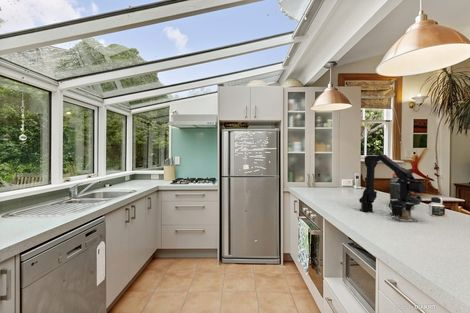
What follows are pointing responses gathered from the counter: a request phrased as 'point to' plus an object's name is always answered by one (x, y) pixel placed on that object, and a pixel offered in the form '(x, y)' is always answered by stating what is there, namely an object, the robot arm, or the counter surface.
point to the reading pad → (404, 220)
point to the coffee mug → (393, 208)
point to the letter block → (405, 215)
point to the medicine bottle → (437, 207)
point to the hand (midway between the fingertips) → (404, 216)
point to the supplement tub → (396, 189)
